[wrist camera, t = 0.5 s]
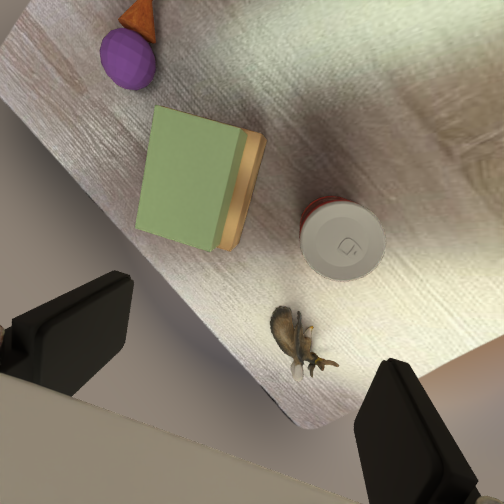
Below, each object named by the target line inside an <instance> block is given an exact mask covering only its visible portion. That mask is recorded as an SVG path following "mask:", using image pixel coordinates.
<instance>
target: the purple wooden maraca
mask: <svg viewBox="0 0 504 504" xmlns="http://www.w3.org/2000/svg"><path fill="white" fill-rule="evenodd" d="M152 1H153V0H137V1H136V2H135V3H134V4H133V5H132V6H131V7H130V8H129V9H128V10H127V11H126V12H125V13H124V14H123V15H122V16H121V17H120V18H119V19H118V20H119V22H120V24H121V25H122V26H123V27H124V28H118V29H115V30H111V31H110V32H109V33H108V34H107V35H106V36H105V38H104V39H103V40H102V44H101V47H100V57H101V63H102V65H103V67H104V69H105V71H106V73H107V75H108V76H109V77H110V78H111V79H112V80H113V81H114V82H115V83H116V84H117V85H119V86H120V87H122V88H124V89H130V90H139V89H142V88H144V87H146V86H147V85H148V84H149V83H150V82H151V81H152V80H153V77H154V74H155V71H156V65H155V57H154V54H153V52H152V49H151V47H150V45H149V44H148V42H149V43H153V44H154V43H156V38H155V28H154V17H153V7H152Z"/></svg>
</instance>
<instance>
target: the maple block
mask: <svg viewBox="0 0 504 504" xmlns="http://www.w3.org/2000/svg"><path fill="white" fill-rule="evenodd" d="M162 107H164V106H162ZM166 108H168V107H166ZM169 109H171V108H169ZM173 110H175V109H173ZM176 111H178V110H176ZM180 112H182V111H180ZM184 113H186V112H184ZM187 114H189V113H187ZM191 115H193V114H191ZM194 116H196V115H194ZM198 117H200V116H198ZM202 118H204V117H202ZM205 119H207V118H205ZM209 120H211V119H209ZM212 121H214V120H212ZM216 122H218V121H216ZM220 123H222V122H220ZM223 124H225V123H223ZM227 125H229V124H227ZM230 126H232V125H230ZM234 127H236V126H234ZM238 128H240V127H238ZM240 129H242V130H243V131H244V132H245V133H246V134H247V135H248V136H247V140H246V144H245V147H244V151H243V155H242V159H241V163H240V167H239V171H238V175H237V179H236V183H235V187H234V191H233V195H232V199H231V203H230V207H229V210H228V214H227V218H226V222H225V226H224V230H223V234H222V238H221V242H220V245H218V246H217V248H220V249H224V250H227V251H230V252H231V251H232V249H233V248H234V247H235V246H236V245H237V244H238V243H239V241H240V237H241V234H242V230H243V226H244V223H245V219H246V215H247V212H248V208H249V204H250V201H251V197H252V193H253V190H254V186H255V182H256V179H257V175H258V171H259V168H260V164H261V160H262V157H263V153H264V149H265V146H266V142H267V140H266V138H265V137H264V136H263V135H262V134H261V133H258V132H254V131H250V130H247V129H243V128H240Z"/></svg>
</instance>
